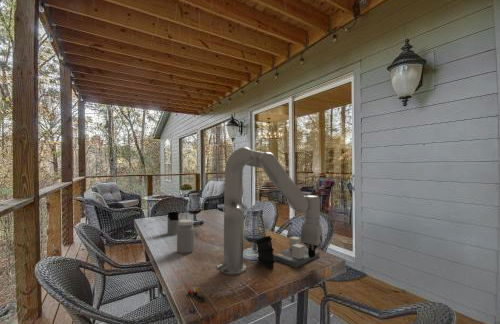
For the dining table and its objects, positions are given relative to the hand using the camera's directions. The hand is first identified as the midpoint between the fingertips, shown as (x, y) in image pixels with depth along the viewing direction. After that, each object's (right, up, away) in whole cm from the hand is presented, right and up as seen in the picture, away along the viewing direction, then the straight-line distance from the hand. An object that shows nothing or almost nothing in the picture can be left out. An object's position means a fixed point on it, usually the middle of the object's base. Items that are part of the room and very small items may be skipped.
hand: (311, 256), depth 125 cm
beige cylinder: (-5, -2, +19) cm, 20 cm away
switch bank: (-5, -5, +12) cm, 14 cm away
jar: (-69, -5, +21) cm, 72 cm away
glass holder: (-85, -5, +58) cm, 103 cm away
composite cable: (-52, -5, -29) cm, 60 cm away
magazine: (-23, -5, +4) cm, 24 cm away
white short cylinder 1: (-6, -2, +6) cm, 8 cm away
